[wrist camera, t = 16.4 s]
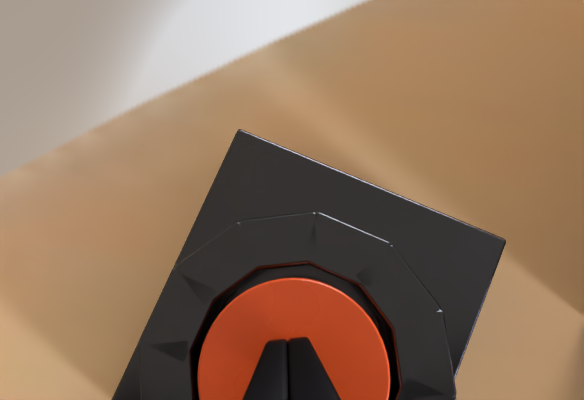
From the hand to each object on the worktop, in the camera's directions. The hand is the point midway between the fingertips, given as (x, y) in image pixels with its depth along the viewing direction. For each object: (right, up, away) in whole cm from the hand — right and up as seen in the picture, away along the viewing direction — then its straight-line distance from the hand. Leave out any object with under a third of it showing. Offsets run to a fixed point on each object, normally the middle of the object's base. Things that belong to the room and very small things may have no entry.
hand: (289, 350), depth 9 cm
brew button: (0, -1, +2) cm, 2 cm away
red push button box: (0, -2, +7) cm, 7 cm away
